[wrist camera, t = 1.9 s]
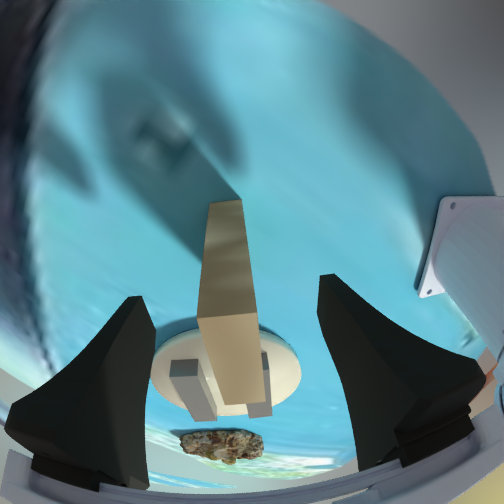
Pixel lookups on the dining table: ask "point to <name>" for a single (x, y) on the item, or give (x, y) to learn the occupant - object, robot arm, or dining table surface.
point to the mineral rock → (223, 445)
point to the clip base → (204, 383)
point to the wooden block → (230, 307)
